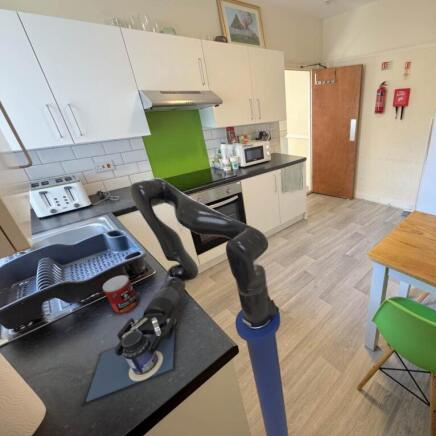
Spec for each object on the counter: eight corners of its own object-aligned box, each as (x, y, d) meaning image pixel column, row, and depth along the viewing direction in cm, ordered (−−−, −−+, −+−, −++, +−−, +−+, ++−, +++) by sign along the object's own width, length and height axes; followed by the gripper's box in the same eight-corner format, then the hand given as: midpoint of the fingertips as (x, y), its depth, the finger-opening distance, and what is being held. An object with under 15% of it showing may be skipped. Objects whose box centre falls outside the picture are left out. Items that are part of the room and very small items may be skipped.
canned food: (121, 317, 83) (108, 293, 78) (110, 308, 87) (97, 285, 82) (143, 302, 88) (132, 279, 83) (132, 295, 92) (121, 272, 87)
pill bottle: (160, 351, 70) (147, 325, 65) (156, 371, 64) (142, 344, 59) (136, 358, 68) (122, 332, 63) (130, 379, 63) (114, 352, 58)
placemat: (175, 329, 77) (174, 328, 77) (173, 369, 65) (172, 368, 65) (102, 353, 71) (101, 352, 70) (86, 403, 59) (85, 402, 58)
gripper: (137, 297, 74) (100, 345, 60) (182, 294, 74) (156, 342, 60) (145, 314, 78) (112, 363, 63) (188, 312, 78) (165, 360, 63)
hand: (133, 353), depth 61 cm, fingers open, 8 cm apart
